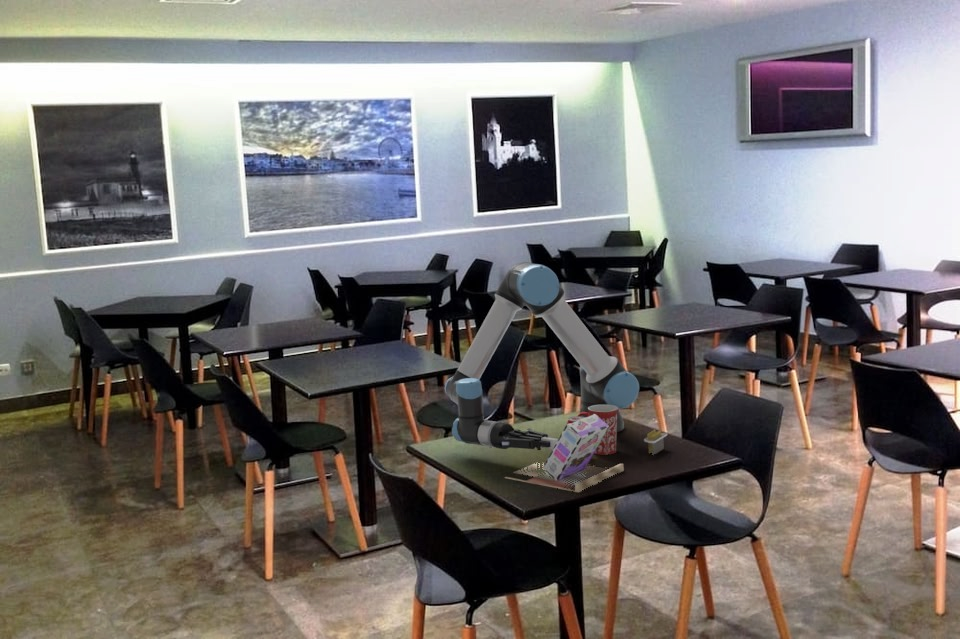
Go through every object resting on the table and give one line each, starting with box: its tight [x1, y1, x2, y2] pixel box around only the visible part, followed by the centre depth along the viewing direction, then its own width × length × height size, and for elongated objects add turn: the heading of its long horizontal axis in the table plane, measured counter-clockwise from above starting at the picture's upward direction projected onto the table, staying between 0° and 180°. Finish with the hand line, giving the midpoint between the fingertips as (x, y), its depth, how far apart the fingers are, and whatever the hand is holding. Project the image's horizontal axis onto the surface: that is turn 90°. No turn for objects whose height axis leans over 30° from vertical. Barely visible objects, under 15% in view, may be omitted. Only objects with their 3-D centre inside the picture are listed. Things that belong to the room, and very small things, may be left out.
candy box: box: [543, 414, 609, 481], centre depth 271 cm, size 14×6×16 cm
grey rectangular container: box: [643, 429, 668, 456], centre depth 292 cm, size 12×18×7 cm, turn 146°
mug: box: [577, 405, 618, 456], centre depth 295 cm, size 13×9×14 cm
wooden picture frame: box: [504, 461, 625, 493], centre depth 275 cm, size 22×26×2 cm
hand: (561, 445), depth 273 cm, fingers closed
